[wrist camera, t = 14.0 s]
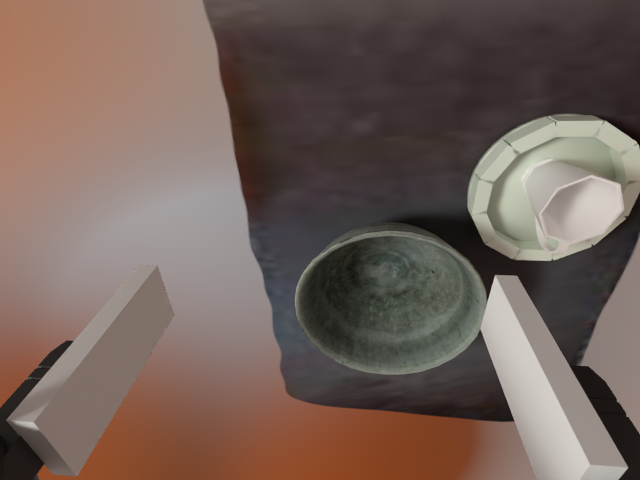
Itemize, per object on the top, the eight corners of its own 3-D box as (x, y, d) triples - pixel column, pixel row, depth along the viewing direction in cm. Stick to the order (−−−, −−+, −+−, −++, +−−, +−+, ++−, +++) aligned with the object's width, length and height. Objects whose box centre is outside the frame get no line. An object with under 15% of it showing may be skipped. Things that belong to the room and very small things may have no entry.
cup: (587, 141, 37) (638, 172, 30) (564, 226, 42) (603, 269, 35) (513, 147, 38) (546, 178, 31) (499, 230, 43) (525, 271, 36)
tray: (482, 114, 37) (491, 121, 35) (652, 111, 36) (673, 119, 33) (456, 244, 46) (462, 258, 43) (592, 247, 44) (606, 262, 42)
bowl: (426, 332, 55) (438, 391, 46) (291, 298, 53) (278, 353, 45) (496, 216, 43) (528, 266, 35) (326, 170, 42) (318, 210, 34)
